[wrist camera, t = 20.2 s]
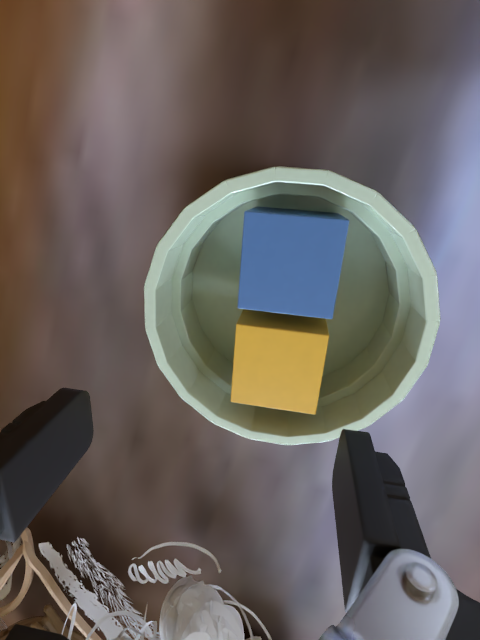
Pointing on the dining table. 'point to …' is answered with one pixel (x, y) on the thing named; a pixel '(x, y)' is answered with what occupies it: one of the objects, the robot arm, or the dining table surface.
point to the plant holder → (176, 613)
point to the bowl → (344, 329)
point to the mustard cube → (279, 360)
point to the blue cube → (291, 261)
